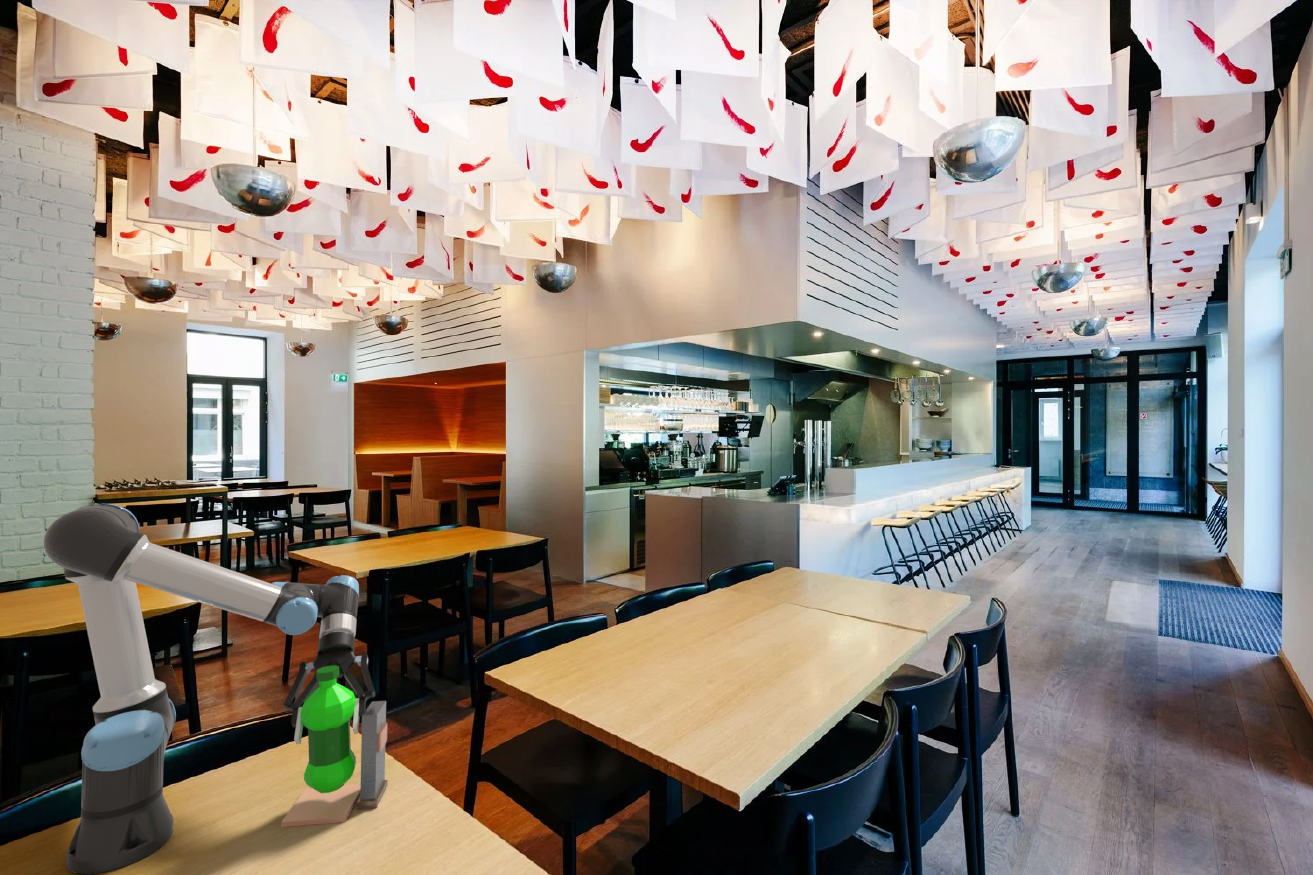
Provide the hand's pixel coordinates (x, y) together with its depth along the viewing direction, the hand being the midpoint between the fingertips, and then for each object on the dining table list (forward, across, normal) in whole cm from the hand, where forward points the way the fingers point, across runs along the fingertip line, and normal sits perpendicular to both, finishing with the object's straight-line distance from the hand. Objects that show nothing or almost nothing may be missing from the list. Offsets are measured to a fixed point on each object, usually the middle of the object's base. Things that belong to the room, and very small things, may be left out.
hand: (326, 736), depth 125 cm
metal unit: (+9, -8, -14) cm, 19 cm away
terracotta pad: (+9, +1, -14) cm, 16 cm away
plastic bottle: (+7, 0, -11) cm, 13 cm away
